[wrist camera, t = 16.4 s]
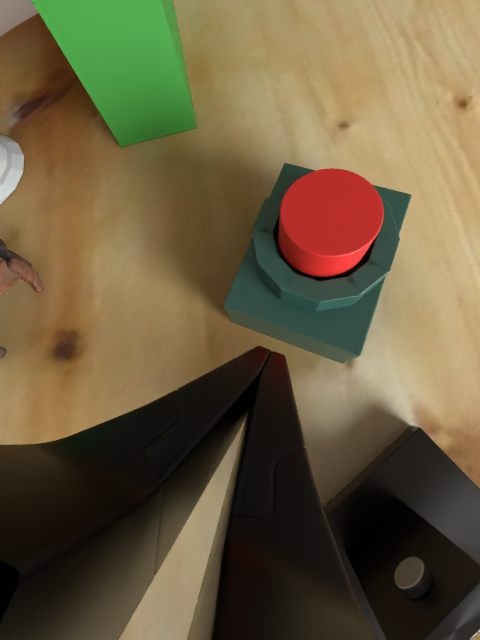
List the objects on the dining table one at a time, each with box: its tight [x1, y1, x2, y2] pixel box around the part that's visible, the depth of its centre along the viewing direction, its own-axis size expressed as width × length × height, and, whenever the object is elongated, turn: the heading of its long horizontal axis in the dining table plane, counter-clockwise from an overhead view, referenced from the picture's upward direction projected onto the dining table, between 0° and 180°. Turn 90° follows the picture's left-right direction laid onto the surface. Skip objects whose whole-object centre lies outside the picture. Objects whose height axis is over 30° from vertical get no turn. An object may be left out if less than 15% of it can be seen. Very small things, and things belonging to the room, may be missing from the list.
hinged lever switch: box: [323, 426, 480, 640], centre depth 13 cm, size 12×9×8 cm
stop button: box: [279, 169, 384, 277], centre depth 16 cm, size 5×5×2 cm
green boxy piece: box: [223, 163, 411, 363], centre depth 19 cm, size 11×8×6 cm
